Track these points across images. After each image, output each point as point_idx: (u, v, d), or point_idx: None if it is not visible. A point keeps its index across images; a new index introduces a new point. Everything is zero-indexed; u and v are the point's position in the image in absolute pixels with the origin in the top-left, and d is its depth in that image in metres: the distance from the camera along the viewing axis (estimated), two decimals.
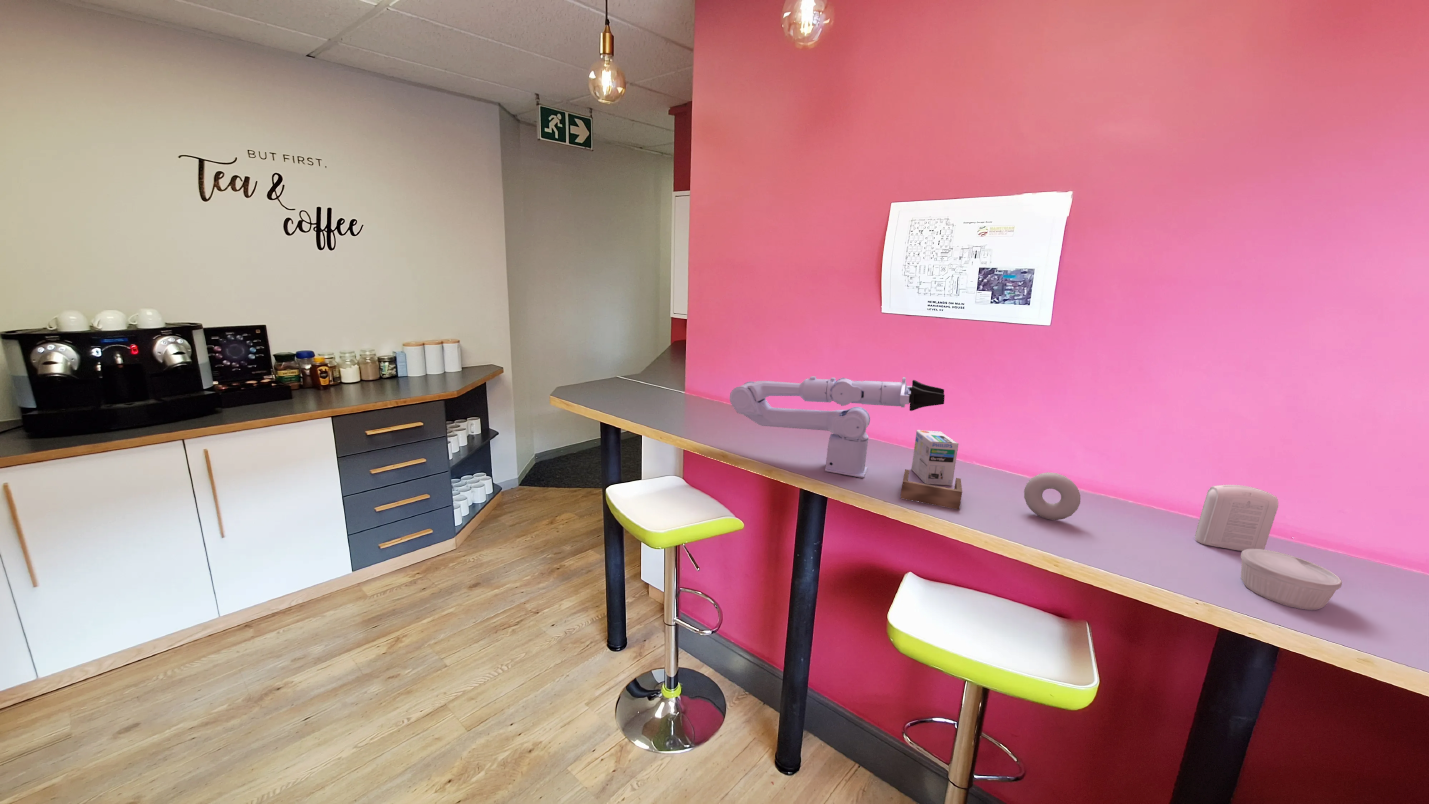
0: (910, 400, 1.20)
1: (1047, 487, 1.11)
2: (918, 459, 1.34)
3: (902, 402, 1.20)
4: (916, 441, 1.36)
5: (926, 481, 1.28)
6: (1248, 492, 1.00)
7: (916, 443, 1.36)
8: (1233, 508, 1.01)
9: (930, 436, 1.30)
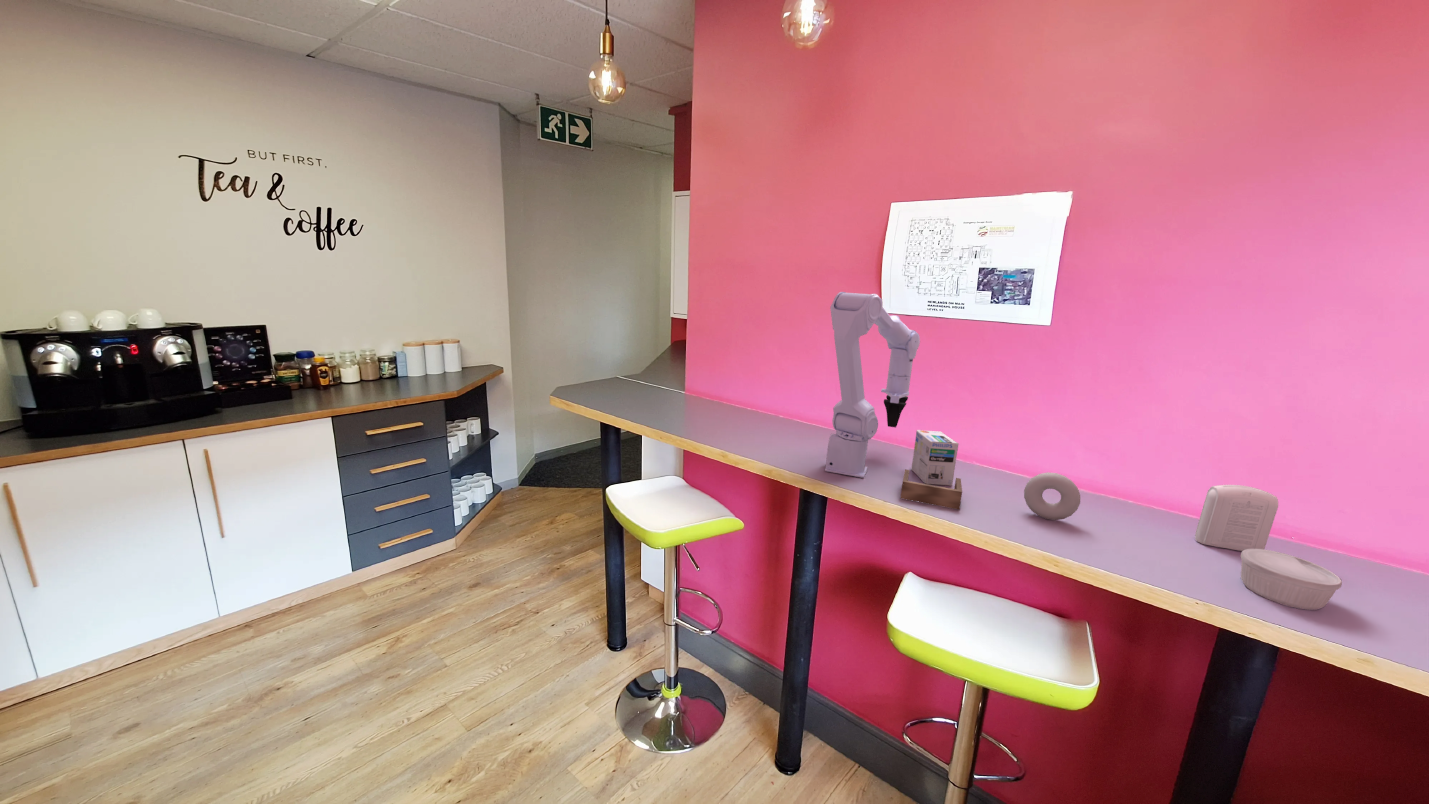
0: None
1: (1047, 487, 1.11)
2: (918, 459, 1.34)
3: None
4: (916, 441, 1.36)
5: (926, 481, 1.28)
6: (1248, 492, 1.00)
7: (916, 443, 1.36)
8: (1233, 508, 1.01)
9: (930, 436, 1.30)
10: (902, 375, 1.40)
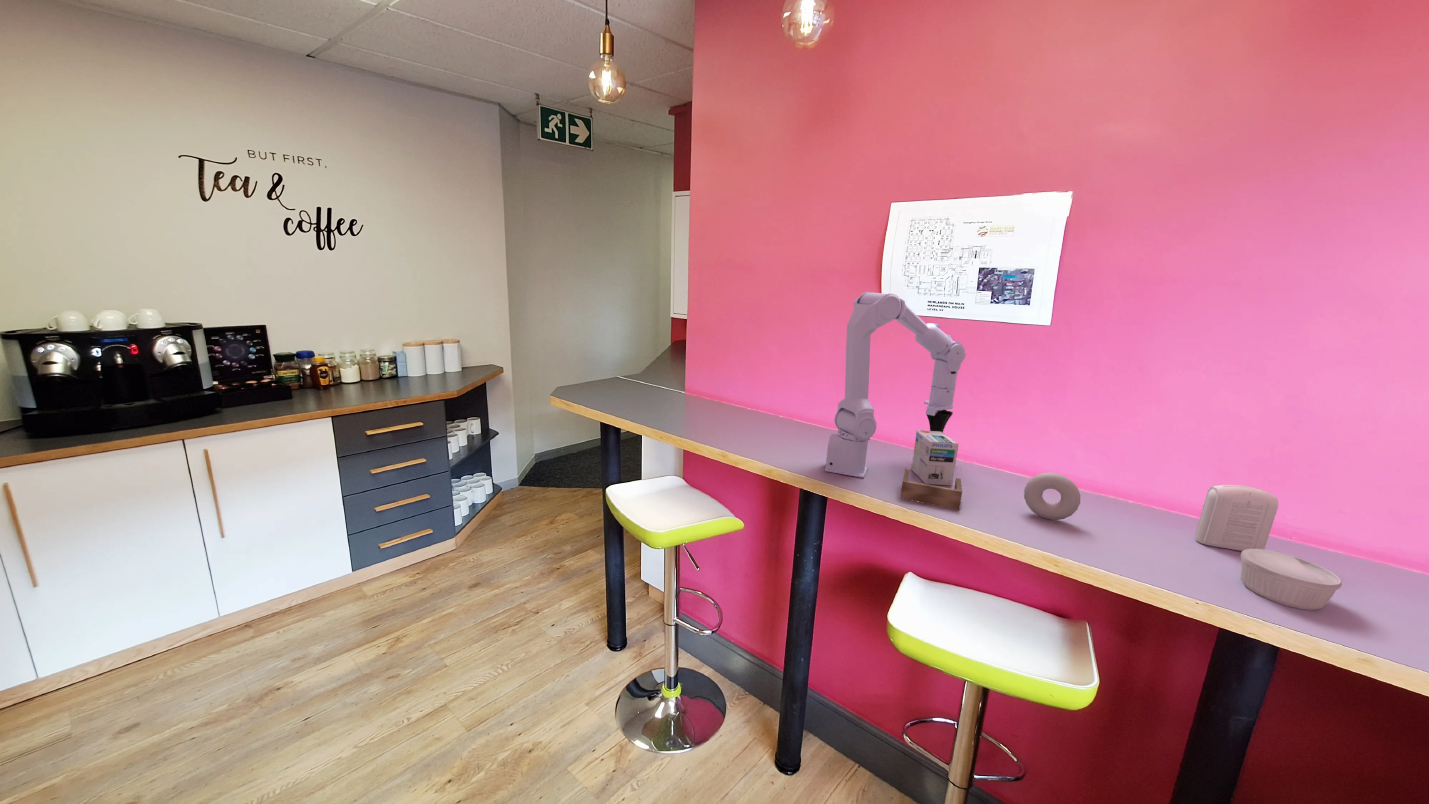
0: None
1: (1047, 487, 1.11)
2: (918, 459, 1.34)
3: None
4: (916, 441, 1.36)
5: (926, 481, 1.28)
6: (1248, 492, 1.00)
7: (916, 443, 1.36)
8: (1233, 508, 1.01)
9: (930, 436, 1.30)
10: (942, 387, 1.36)
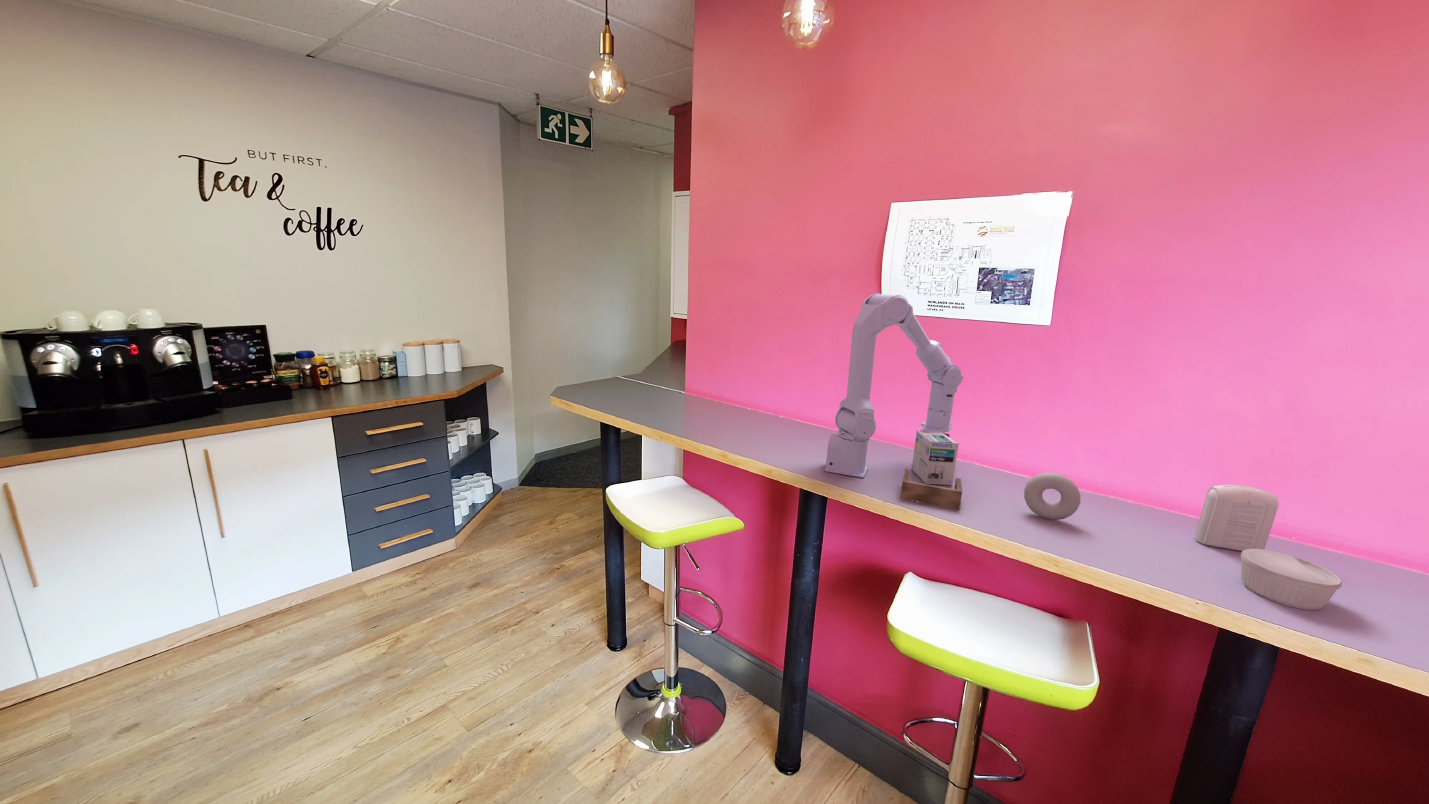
0: None
1: (1047, 487, 1.11)
2: (918, 459, 1.33)
3: None
4: (916, 441, 1.36)
5: (926, 481, 1.28)
6: (1248, 492, 1.00)
7: (916, 443, 1.36)
8: (1233, 507, 1.01)
9: (930, 436, 1.30)
10: (938, 410, 1.36)
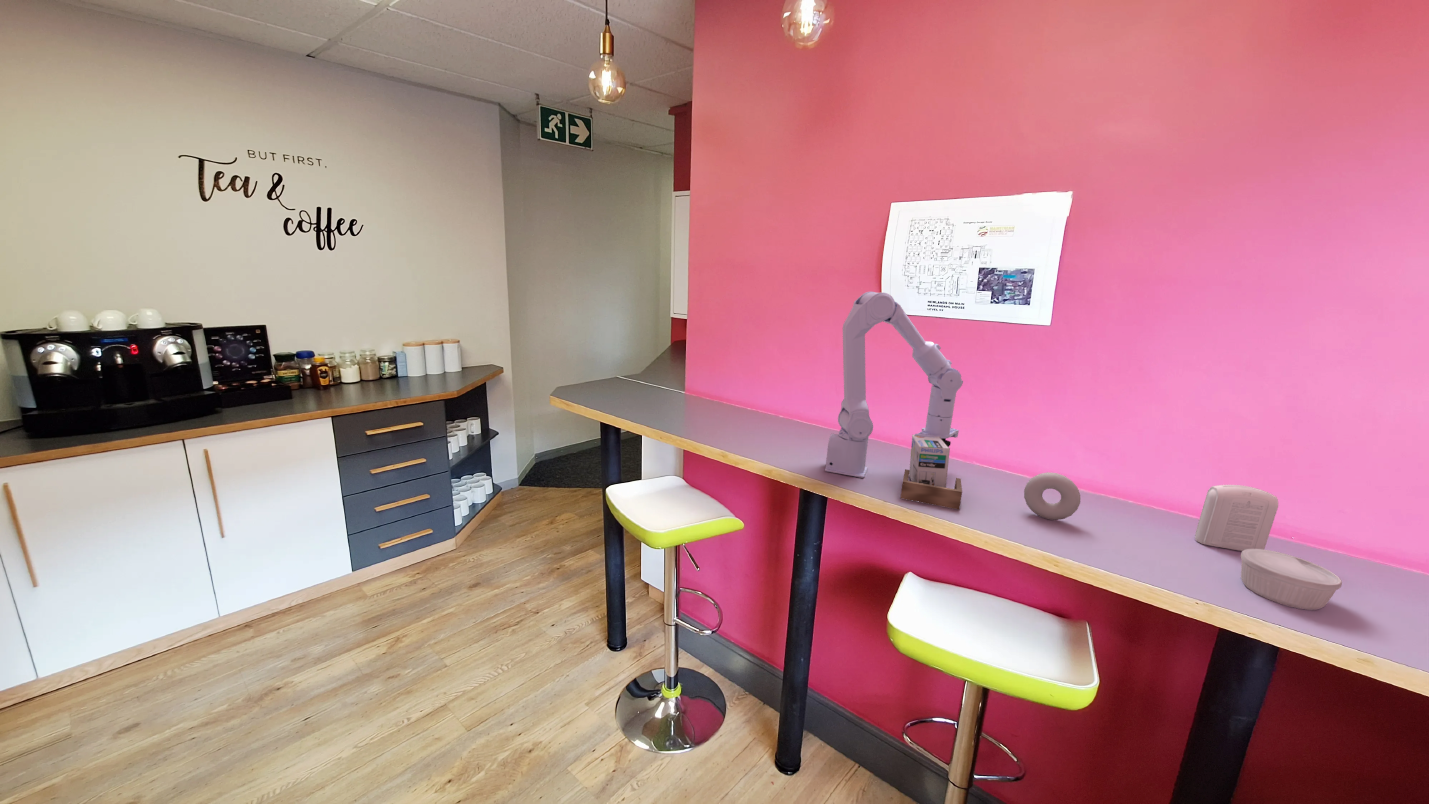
0: None
1: (1047, 487, 1.11)
2: (912, 465, 1.29)
3: None
4: (911, 446, 1.31)
5: None
6: (1248, 492, 1.00)
7: (911, 448, 1.31)
8: (1233, 508, 1.01)
9: (922, 441, 1.25)
10: (935, 415, 1.30)
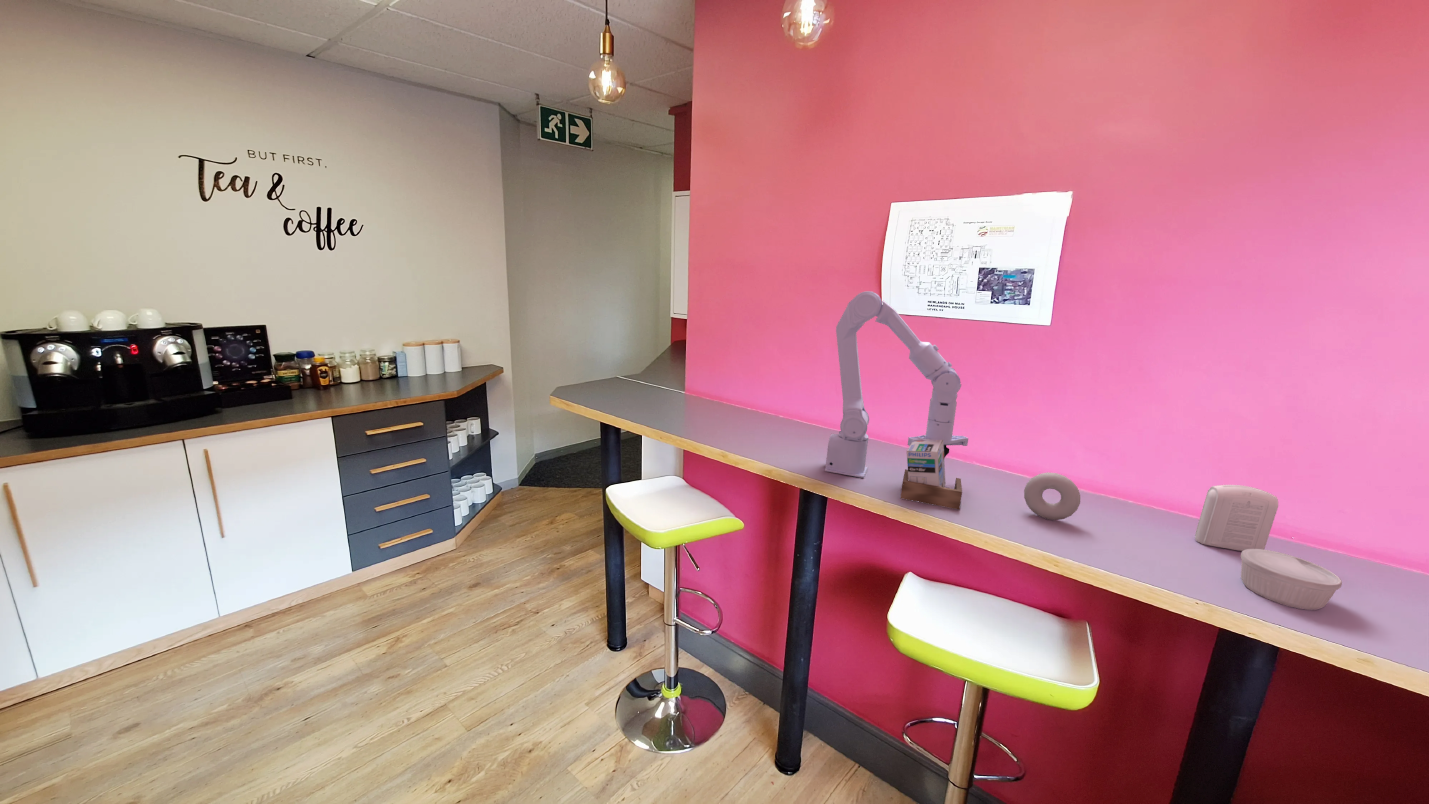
0: None
1: (1047, 487, 1.11)
2: None
3: None
4: None
5: None
6: (1248, 492, 1.00)
7: None
8: (1233, 508, 1.01)
9: (916, 445, 1.21)
10: (932, 419, 1.25)
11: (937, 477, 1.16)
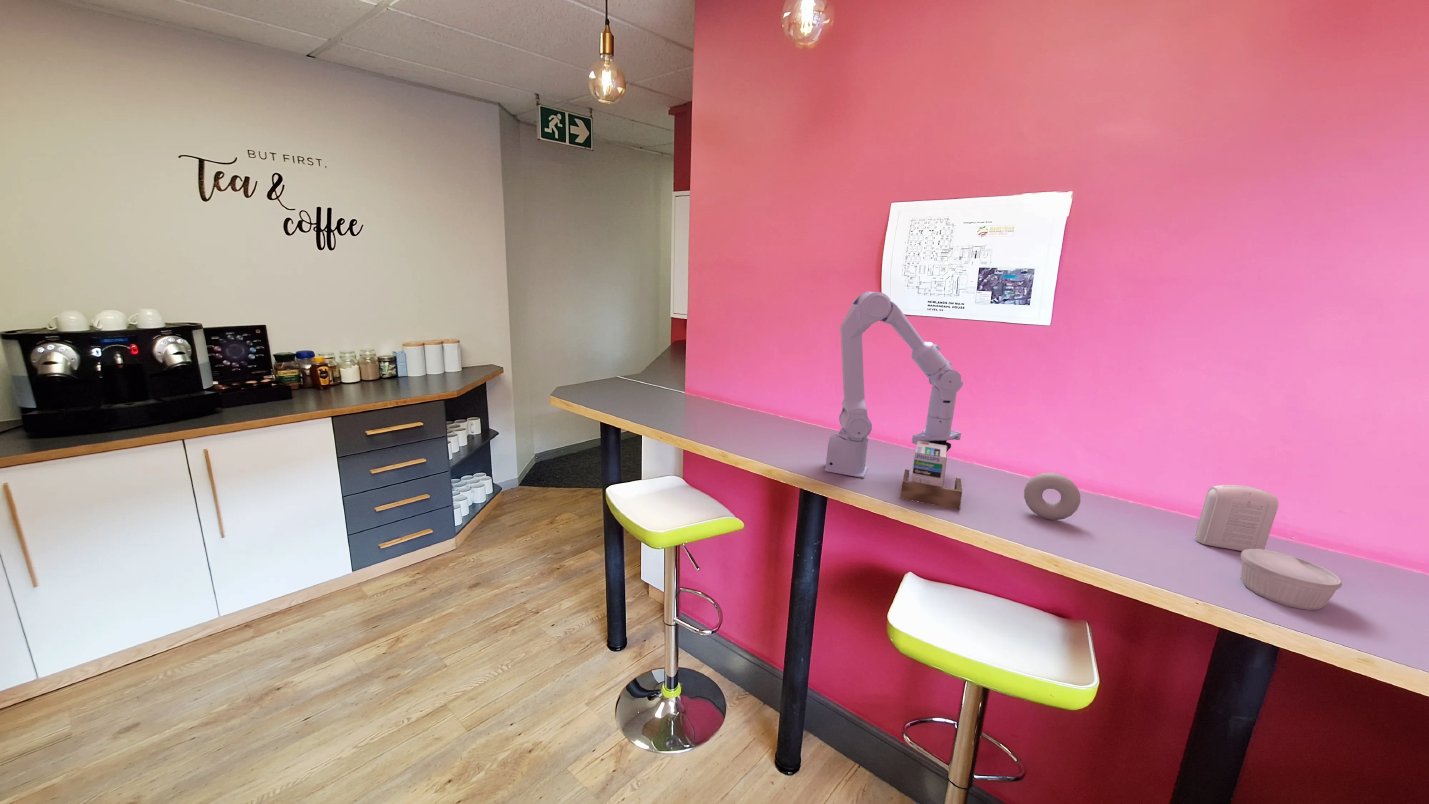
0: None
1: (1047, 487, 1.11)
2: None
3: None
4: None
5: None
6: (1248, 492, 1.00)
7: None
8: (1233, 508, 1.01)
9: (922, 447, 1.21)
10: (934, 416, 1.29)
11: (941, 482, 1.16)
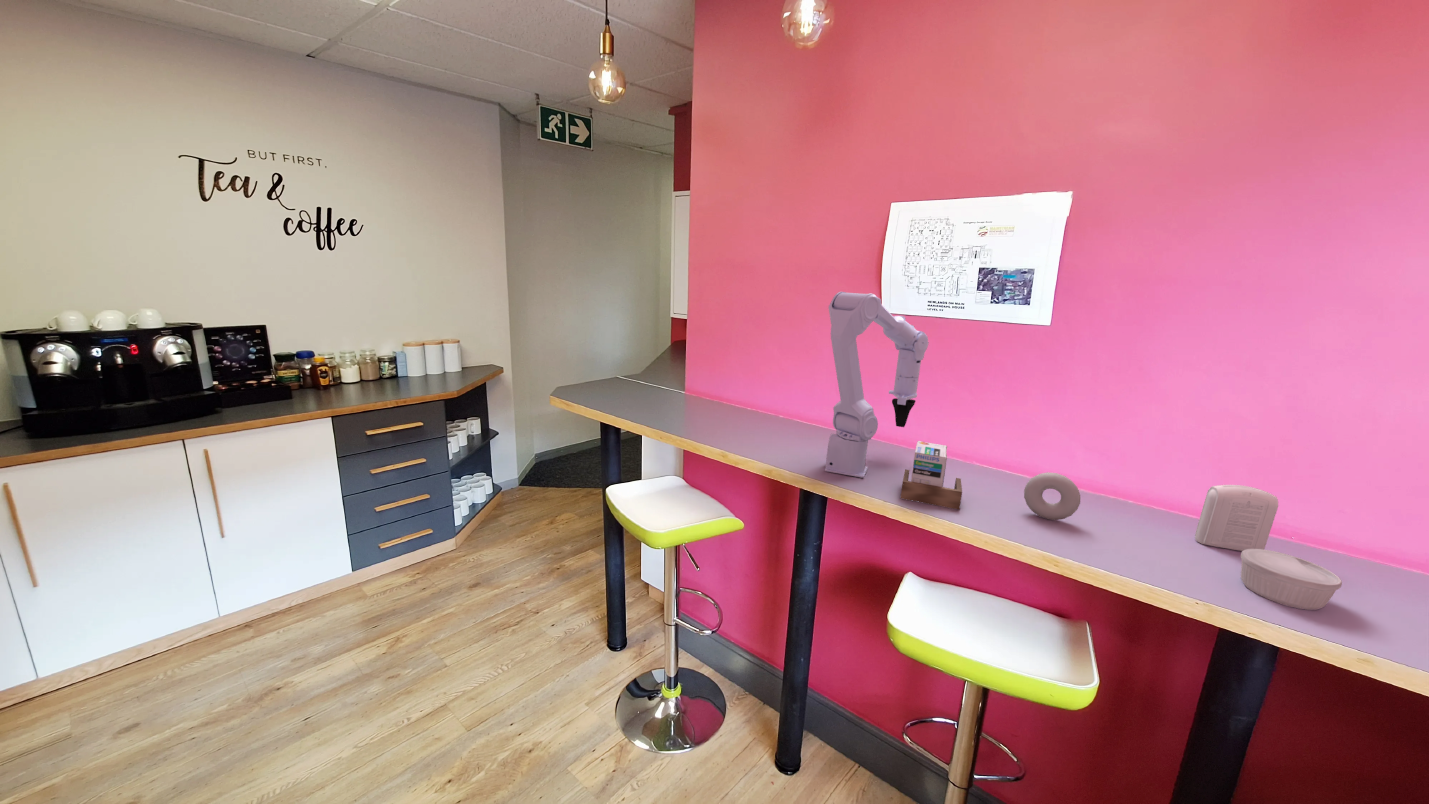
0: None
1: (1047, 487, 1.11)
2: None
3: None
4: None
5: None
6: (1248, 492, 1.00)
7: None
8: (1233, 508, 1.01)
9: (922, 447, 1.21)
10: (909, 376, 1.38)
11: (941, 482, 1.16)
